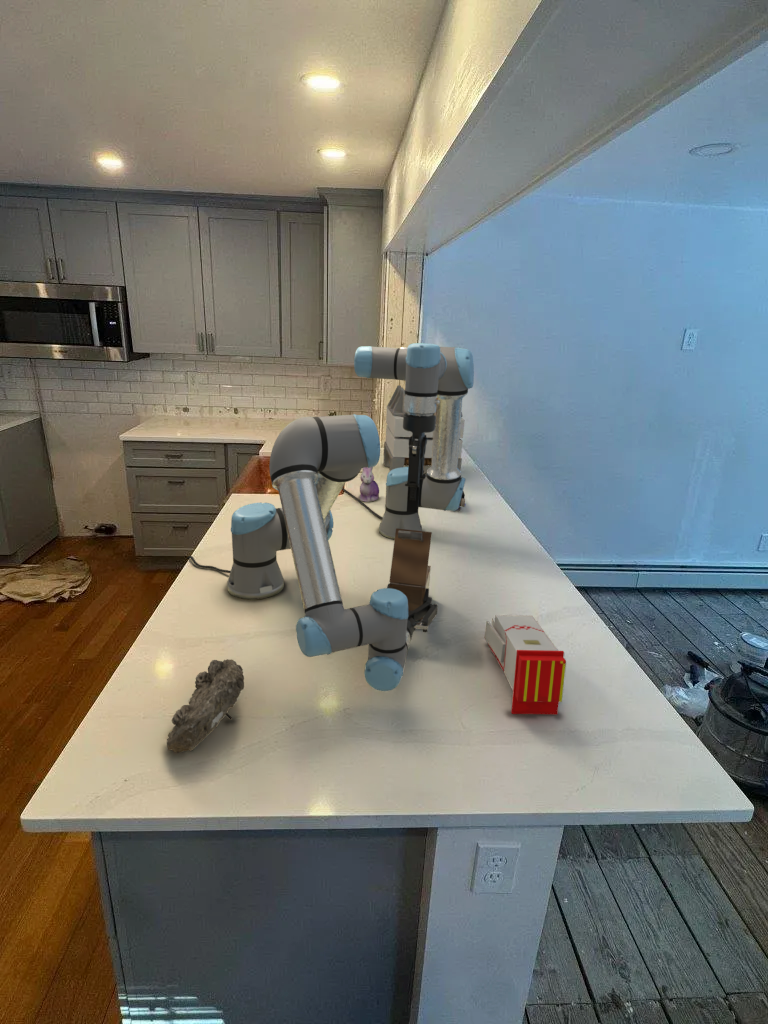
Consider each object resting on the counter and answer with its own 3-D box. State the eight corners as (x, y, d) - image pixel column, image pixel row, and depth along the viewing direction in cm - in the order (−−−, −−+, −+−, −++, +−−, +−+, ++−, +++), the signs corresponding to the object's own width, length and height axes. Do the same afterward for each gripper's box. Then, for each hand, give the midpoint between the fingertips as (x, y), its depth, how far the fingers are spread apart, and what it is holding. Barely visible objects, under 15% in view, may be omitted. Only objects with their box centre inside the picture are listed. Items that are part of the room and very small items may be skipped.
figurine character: (465, 515, 224) (460, 499, 237) (467, 498, 221) (462, 483, 234) (448, 515, 224) (444, 499, 237) (450, 498, 220) (445, 482, 234)
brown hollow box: (395, 592, 158) (397, 561, 155) (428, 596, 157) (430, 565, 154) (387, 616, 146) (389, 583, 143) (422, 621, 145) (425, 588, 141)
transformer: (382, 463, 289) (386, 382, 275) (445, 464, 293) (451, 384, 279) (390, 482, 257) (394, 392, 243) (460, 483, 261) (468, 394, 247)
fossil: (192, 660, 117) (244, 628, 112) (224, 691, 120) (276, 661, 115) (142, 746, 98) (202, 712, 93) (182, 779, 101) (242, 748, 96)
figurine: (363, 503, 228) (365, 467, 223) (353, 496, 237) (354, 461, 232) (384, 501, 233) (386, 465, 227) (373, 493, 241) (374, 459, 236)
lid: (396, 528, 145) (392, 523, 137) (431, 532, 144) (429, 527, 135) (389, 581, 143) (385, 579, 135) (425, 586, 142) (423, 584, 133)
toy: (530, 600, 137) (574, 657, 108) (525, 651, 140) (567, 720, 111) (480, 599, 137) (511, 656, 107) (477, 651, 139) (506, 719, 110)
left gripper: (345, 645, 128) (366, 598, 149) (442, 658, 125) (449, 609, 146) (346, 616, 126) (367, 572, 147) (444, 628, 122) (451, 582, 143)
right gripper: (432, 421, 122) (424, 522, 130) (439, 408, 139) (432, 497, 147) (397, 419, 123) (392, 519, 131) (409, 405, 140) (404, 495, 148)
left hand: (408, 590), depth 146 cm, fingers closed on brown hollow box, 9 cm apart
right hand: (413, 507), depth 139 cm, fingers open, 5 cm apart
